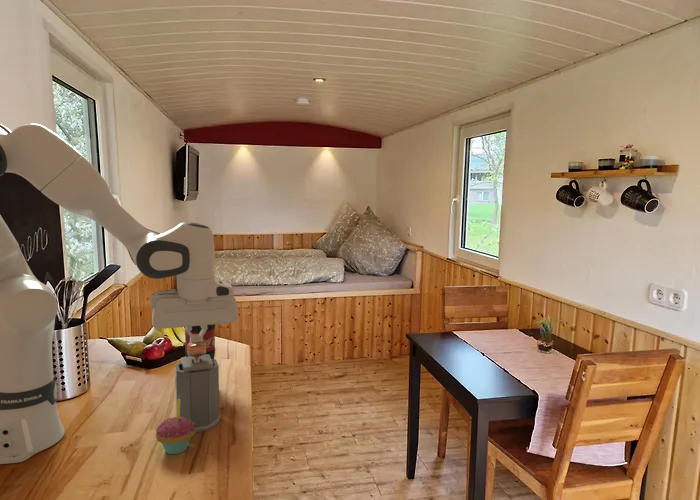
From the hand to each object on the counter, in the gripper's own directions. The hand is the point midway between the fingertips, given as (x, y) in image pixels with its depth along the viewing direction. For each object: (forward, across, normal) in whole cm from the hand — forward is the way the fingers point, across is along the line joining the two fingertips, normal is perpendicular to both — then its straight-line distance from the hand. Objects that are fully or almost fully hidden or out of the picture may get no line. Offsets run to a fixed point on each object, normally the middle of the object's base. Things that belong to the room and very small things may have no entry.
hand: (196, 342), depth 115 cm
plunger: (+19, 0, 0) cm, 19 cm away
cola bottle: (+21, +3, +18) cm, 28 cm away
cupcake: (+22, -6, -11) cm, 25 cm away
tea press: (+21, 0, +1) cm, 21 cm away
